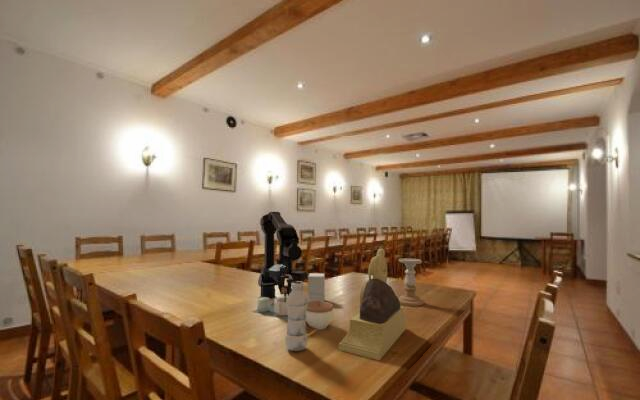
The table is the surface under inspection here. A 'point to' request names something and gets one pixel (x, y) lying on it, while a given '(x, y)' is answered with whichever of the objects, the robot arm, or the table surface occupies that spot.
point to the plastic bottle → (296, 318)
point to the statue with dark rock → (375, 315)
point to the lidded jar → (319, 314)
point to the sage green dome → (263, 305)
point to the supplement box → (316, 287)
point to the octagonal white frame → (280, 306)
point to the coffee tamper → (284, 291)
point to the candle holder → (410, 284)
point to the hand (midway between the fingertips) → (285, 294)
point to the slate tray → (272, 313)
